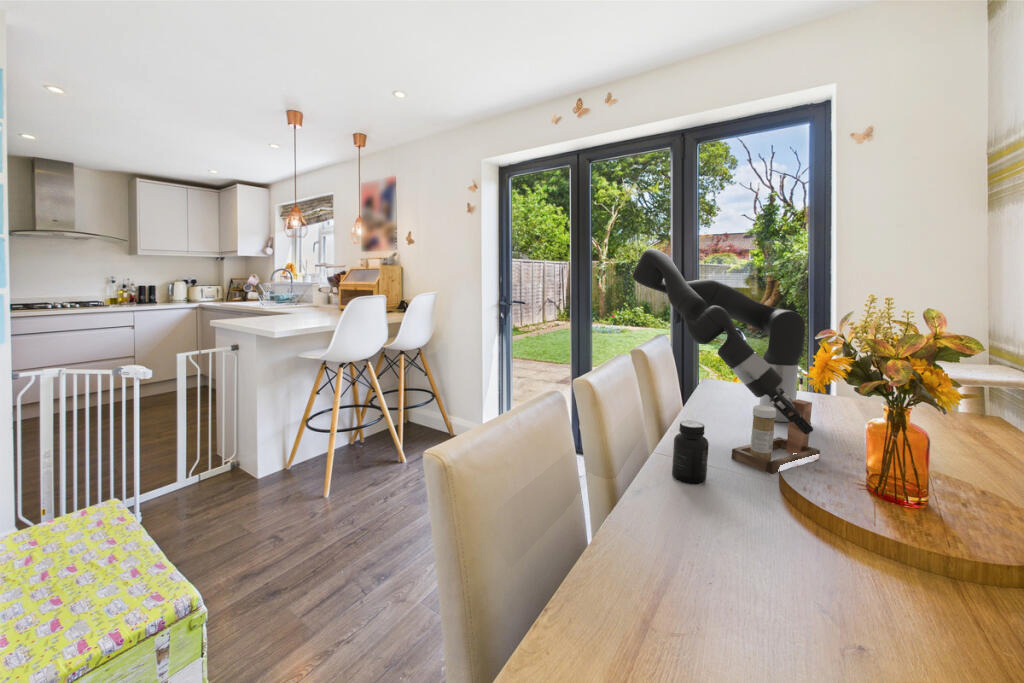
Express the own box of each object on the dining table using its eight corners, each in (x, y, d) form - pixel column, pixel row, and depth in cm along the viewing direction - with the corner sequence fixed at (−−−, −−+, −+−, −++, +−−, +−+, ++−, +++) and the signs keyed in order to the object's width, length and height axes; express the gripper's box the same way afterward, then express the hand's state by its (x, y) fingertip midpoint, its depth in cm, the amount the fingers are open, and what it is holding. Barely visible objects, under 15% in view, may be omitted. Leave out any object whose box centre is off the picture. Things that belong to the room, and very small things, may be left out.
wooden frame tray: (780, 445, 115) (785, 396, 113) (821, 459, 106) (827, 405, 104) (731, 458, 106) (735, 405, 104) (771, 474, 97) (776, 416, 96)
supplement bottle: (695, 470, 99) (698, 418, 98) (712, 484, 93) (716, 428, 91) (666, 472, 98) (669, 419, 97) (681, 486, 92) (684, 430, 90)
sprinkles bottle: (757, 458, 106) (762, 403, 104) (775, 465, 102) (781, 408, 100) (744, 461, 104) (748, 405, 102) (762, 469, 100) (767, 411, 98)
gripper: (744, 378, 120) (793, 429, 115) (742, 388, 107) (796, 446, 103) (769, 360, 116) (819, 412, 112) (770, 369, 104) (827, 428, 100)
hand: (808, 428), depth 108 cm, fingers closed on wooden frame tray, 4 cm apart
